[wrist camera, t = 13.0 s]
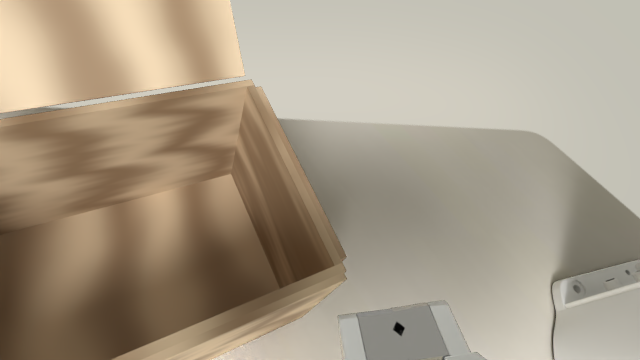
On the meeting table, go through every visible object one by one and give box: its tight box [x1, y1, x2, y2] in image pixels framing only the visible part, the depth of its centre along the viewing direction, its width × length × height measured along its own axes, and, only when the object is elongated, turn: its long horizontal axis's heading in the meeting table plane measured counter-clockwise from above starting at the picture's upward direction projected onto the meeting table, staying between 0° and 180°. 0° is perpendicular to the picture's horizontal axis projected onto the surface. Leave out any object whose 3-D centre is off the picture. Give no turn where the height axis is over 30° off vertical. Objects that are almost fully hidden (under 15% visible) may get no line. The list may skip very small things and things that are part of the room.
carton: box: [0, 80, 347, 360], centre depth 24 cm, size 23×14×12 cm, turn 117°
